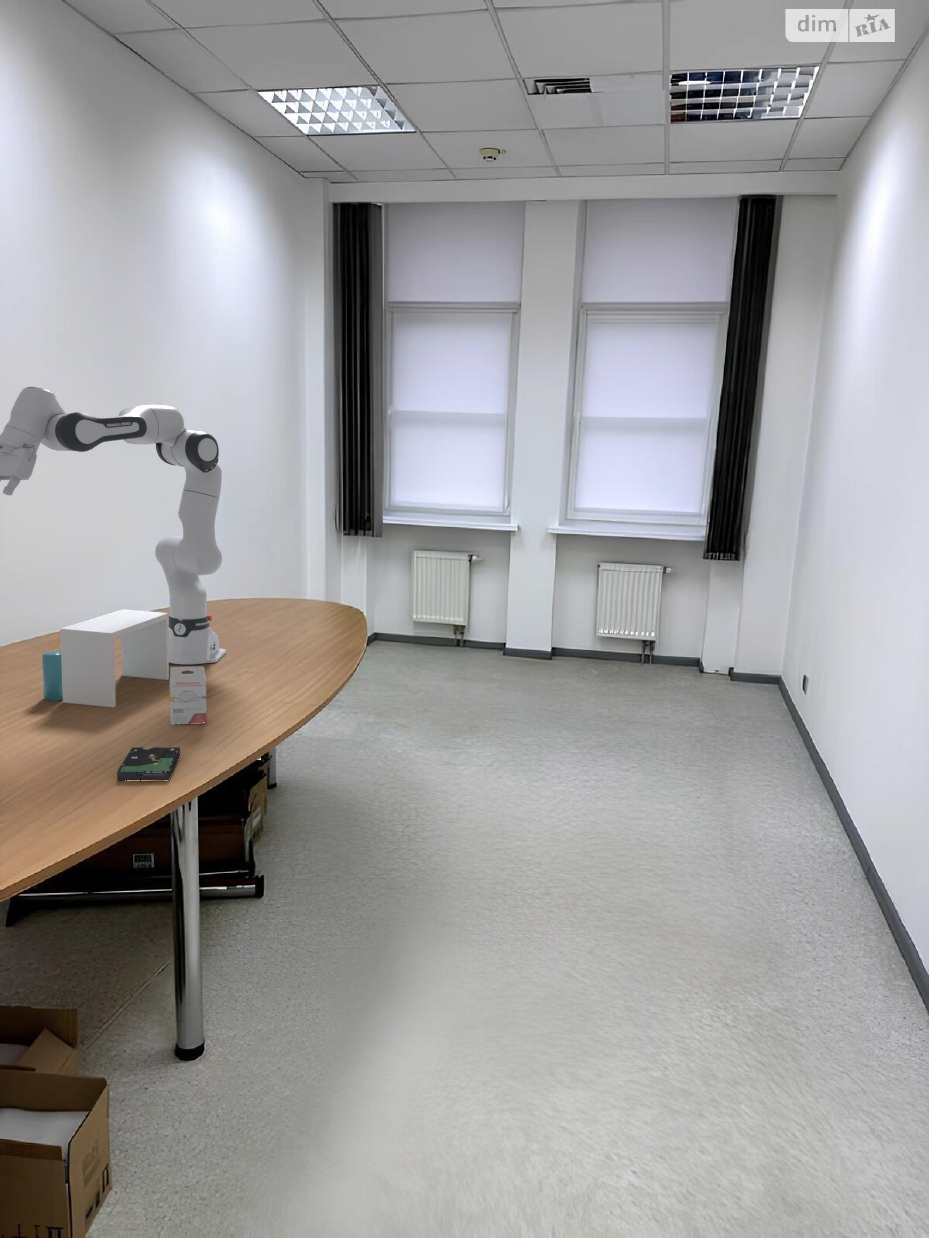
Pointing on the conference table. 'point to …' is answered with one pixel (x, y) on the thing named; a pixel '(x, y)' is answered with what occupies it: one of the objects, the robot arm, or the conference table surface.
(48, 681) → the teal cylinder
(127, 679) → the conference table surface
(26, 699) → the conference table surface
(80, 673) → the arch
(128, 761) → the disk drive
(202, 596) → the robot arm
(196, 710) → the ink cartridge box
